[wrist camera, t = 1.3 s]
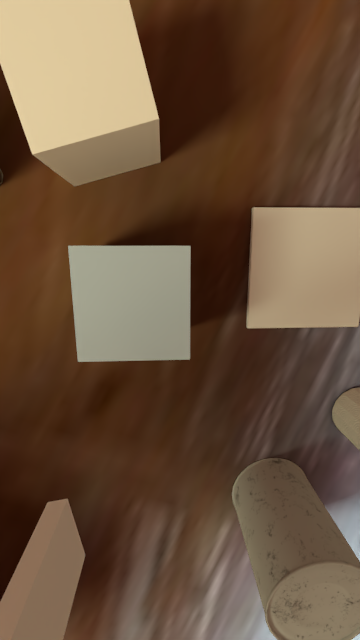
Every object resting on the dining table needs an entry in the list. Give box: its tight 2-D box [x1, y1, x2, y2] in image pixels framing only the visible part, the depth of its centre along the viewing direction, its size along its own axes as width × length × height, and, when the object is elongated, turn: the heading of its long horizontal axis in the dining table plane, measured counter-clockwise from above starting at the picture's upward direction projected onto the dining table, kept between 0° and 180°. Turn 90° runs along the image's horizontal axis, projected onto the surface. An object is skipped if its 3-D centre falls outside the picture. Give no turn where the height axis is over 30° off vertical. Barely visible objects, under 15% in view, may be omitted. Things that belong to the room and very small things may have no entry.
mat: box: [246, 207, 360, 328], centre depth 30 cm, size 12×12×1 cm
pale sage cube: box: [68, 246, 191, 362], centre depth 26 cm, size 8×8×9 cm
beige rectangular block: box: [0, 0, 161, 186], centre depth 22 cm, size 8×8×9 cm
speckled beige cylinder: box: [232, 458, 360, 640], centre depth 30 cm, size 10×10×12 cm
